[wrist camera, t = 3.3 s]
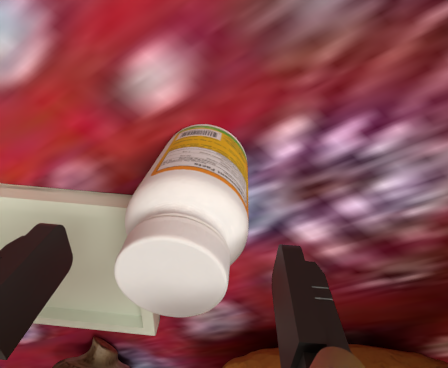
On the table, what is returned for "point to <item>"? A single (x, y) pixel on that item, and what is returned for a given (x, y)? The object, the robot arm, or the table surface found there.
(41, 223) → the robot arm
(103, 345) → the mushroom
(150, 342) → the table surface
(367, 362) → the clay tablet
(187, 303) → the supplement bottle
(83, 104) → the table surface
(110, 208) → the tray
